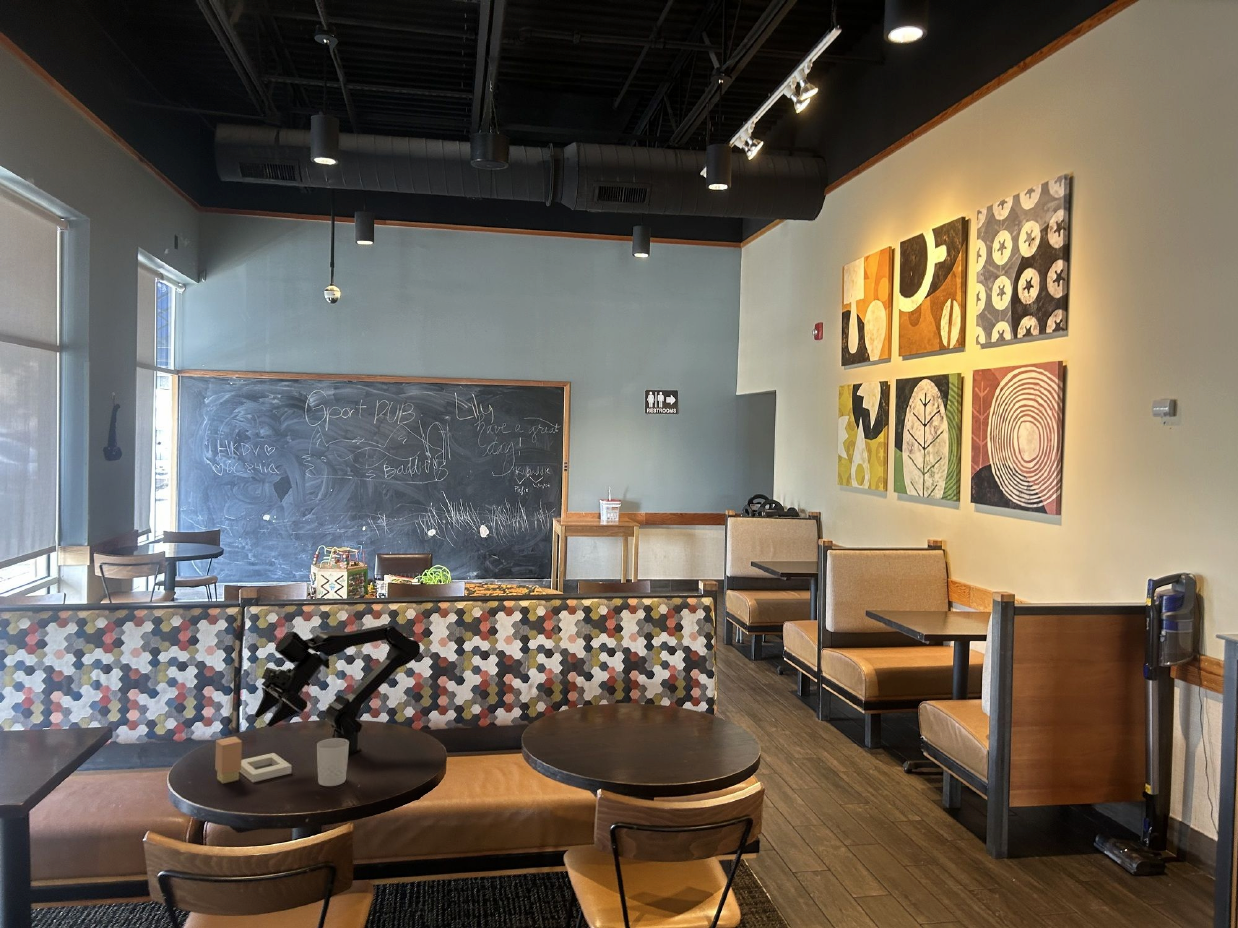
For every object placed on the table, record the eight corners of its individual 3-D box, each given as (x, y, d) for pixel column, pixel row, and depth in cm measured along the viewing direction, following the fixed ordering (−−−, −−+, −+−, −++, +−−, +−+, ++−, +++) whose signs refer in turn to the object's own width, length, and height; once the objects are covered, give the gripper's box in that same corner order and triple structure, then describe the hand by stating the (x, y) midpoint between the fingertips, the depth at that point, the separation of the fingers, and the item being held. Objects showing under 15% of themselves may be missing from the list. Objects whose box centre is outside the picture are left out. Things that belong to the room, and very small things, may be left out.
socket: (273, 759, 233) (273, 752, 233) (291, 772, 224) (291, 765, 224) (235, 768, 226) (236, 761, 226) (252, 782, 217) (252, 774, 217)
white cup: (320, 775, 223) (321, 737, 223) (351, 775, 224) (352, 737, 224) (312, 787, 215) (313, 748, 215) (343, 787, 216) (344, 748, 216)
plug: (234, 774, 222) (235, 736, 222) (240, 779, 219) (241, 741, 219) (214, 778, 219) (215, 740, 219) (221, 784, 216) (222, 745, 215)
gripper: (268, 648, 235) (227, 696, 228) (295, 662, 221) (252, 713, 214) (297, 671, 240) (257, 718, 233) (324, 686, 227) (283, 737, 220)
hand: (262, 721), depth 225 cm, fingers open, 9 cm apart
